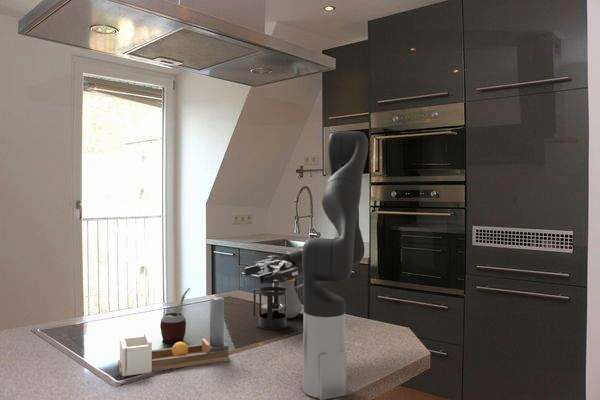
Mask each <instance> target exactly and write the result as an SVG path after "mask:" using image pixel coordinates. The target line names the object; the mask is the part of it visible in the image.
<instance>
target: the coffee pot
mask: <svg viewBox="0 0 600 400" xmlns="http://www.w3.org/2000/svg"><path fill="white" fill-rule="evenodd" d="M295 281H296V278H295V279H291V280H287V281H284V282H279V283H278V287H284V288H286V289H287V319H293V318H296V317H297V316H298V315H299V314H300V313H301V312H302V311H303V306H302V303H301V301H300V299H299V296H298V293H297V291H296V290H297V289H300V288H301V287H302V288H303V283H301V284H299V285H296V286H295V285H294V284H295ZM279 292H280V291H279ZM279 304H283V305H285V295H281V296H279ZM278 312H279V313H284V314H285V309H284V310H279V311H278Z"/></svg>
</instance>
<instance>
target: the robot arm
mask: <svg viewBox="0 0 600 400" xmlns="http://www.w3.org/2000/svg"><path fill="white" fill-rule="evenodd" d="M367 136H368V135H366V133H364V132H363V131H355V130H354V131H353V130H351V131H350V130H349V131H348V130H347V131H333V132H331V133H330V134H329V138H328V142H327V156H328V163H329V169H330V170H329V171H330V177H329V178H328V180H327V181H326V183H325V186H324V191H323V194H322V199H321V200H322V201H321V206H322V208H323V212H324V213H325V216H326V217H327V218H328V220H329V222H330V223H331V224H332V225H333V227H334V228H335V230H336V231H337V234H338V236H337V237H334V238H320V237H319V238H317V237H316V238H314V237H312V238H311V237H310V238H308V239H306V240H305V241H304V244H303V247H302V248H301V249H296V250H292V251H288V252H286V253H284V254H283V257H282V259H281V260H280V259H275V261H274V258H268V259H263V260H258V261H254V265H252V266H247V267H244V269H243V272H244V276H246V277H249V276H253V275H256V274H259V275H258V282H259V284H261V285H262V284H266V282H270V281H278V280H279V282H284V281H287V280H291V279H295V280H296V279H297V278H302V284H303V286H302V292H303V293H302V294H303V295H302V298H303V301H302V303H303V306H302V311H303V313H302V314H303V316H302V317H303V318H302V319H303V321H302V322H303V323H302V392H303V393H304V394H305V395H306V396H309V397H311V398H316V399H318V400H329V399H334V398H339V397H345V396H346V395H347V351H346V308H347V306H346V304H347V303H346V300H345V299H344V297H342V296H340V295H337V294H336V293H332V292H331V291H329V290H327V289H326V288H325V287H324V286H323V285H322V284H321V283H320V281H321V282H337V283H338V282H345V281H348V280H349V278H350V277H351V275H352V271H353V266H355V265H358V264H360V263H361V262H362V261H363V259H364V255H365V251H366V250H365V243H364V239H363V235H362V231H361V228H360V203H361V201H360V200H361V196H362V195H361V194H362V183H363V174H364V169H365V166H366V161H367V159H368V158H367V156H368V153H369V140H368V137H367ZM341 165H343V166H341ZM261 273H265V274H262V275H260V274H261ZM285 276H286V277H285ZM283 277H285V278H283Z"/></svg>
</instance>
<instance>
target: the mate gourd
mask: <svg viewBox="0 0 600 400" xmlns="http://www.w3.org/2000/svg"><path fill="white" fill-rule="evenodd" d="M190 290H191V287H188V289H186V290H185V292H184V293H183V295H182V296H181V300H180V304H179V308H178V311H177V312H167V313H165V314H164V315H163V316H162V317H161V319H160V320H161V321H160V326H159V327H160V333H161V338H162V340H161V343H164V344H165V343H167V344H168V343H169V344H168V346H170V347H171V346H172V347H173V346H174V344H175V343H177V342H184V343H185V340H184V339H185V335H186V327H187V321H186V317H185V316H184V314H183V313H181V310H182V307H183V303H184V300H185V298H186V295H187V294H188V293H189V291H190Z"/></svg>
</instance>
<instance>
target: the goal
mask: <svg viewBox="0 0 600 400" xmlns="http://www.w3.org/2000/svg"><path fill="white" fill-rule="evenodd" d="M152 346H153V342H152V340H151V337H150V334H149V333H148V331H144V332H143V335H137V336H127V337H120V338H119V360H120V362H121V367H122V376H121V377H127V376H134V375H142V374H147V373H152V372H153V371H152V350H153V349H152V348H153V347H152Z"/></svg>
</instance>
